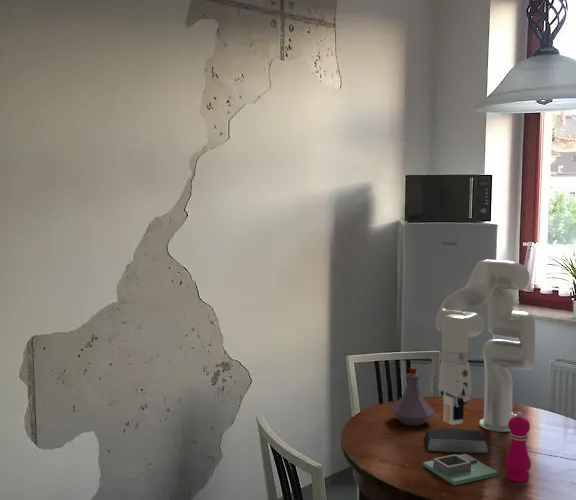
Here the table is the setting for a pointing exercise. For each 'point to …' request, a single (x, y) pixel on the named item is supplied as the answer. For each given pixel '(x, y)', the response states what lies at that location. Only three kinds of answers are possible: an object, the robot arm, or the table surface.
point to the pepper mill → (518, 449)
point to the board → (459, 469)
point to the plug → (450, 410)
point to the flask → (412, 403)
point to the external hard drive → (455, 440)
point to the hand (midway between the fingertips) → (453, 416)
